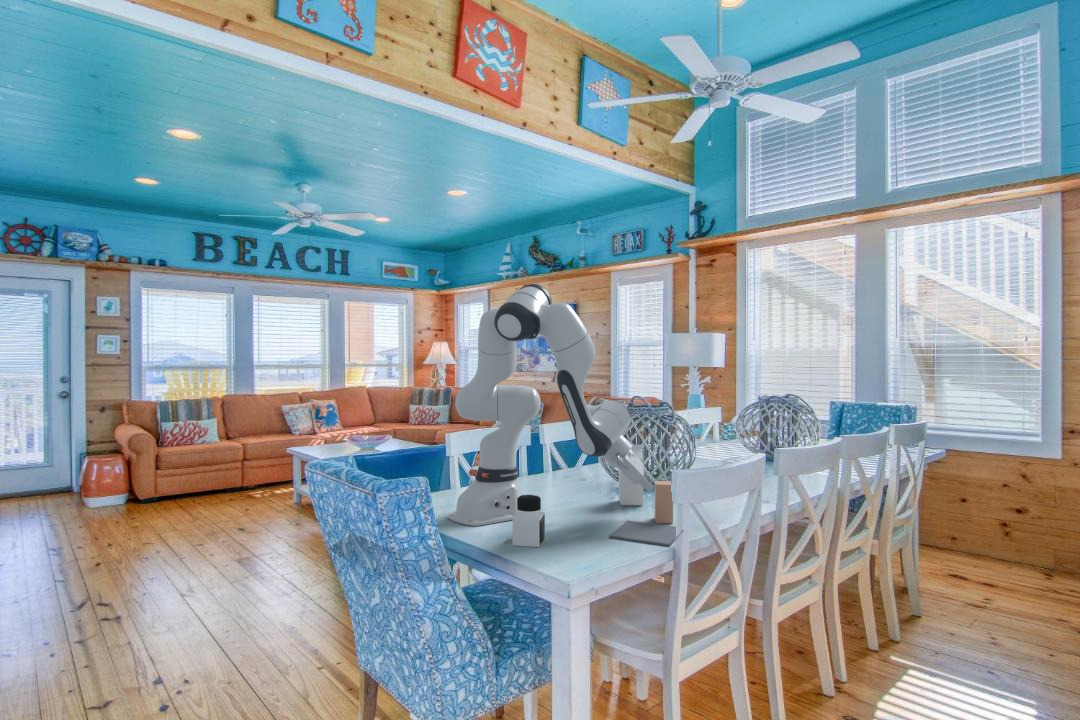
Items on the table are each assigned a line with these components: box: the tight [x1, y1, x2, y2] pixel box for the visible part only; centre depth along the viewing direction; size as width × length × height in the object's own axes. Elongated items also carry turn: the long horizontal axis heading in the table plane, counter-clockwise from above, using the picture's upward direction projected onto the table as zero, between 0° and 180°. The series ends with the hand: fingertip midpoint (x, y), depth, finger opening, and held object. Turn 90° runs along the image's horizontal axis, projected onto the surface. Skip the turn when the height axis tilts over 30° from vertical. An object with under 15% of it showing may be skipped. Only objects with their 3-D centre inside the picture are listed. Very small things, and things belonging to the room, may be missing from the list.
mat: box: [608, 520, 677, 547], centre depth 159 cm, size 16×16×1 cm
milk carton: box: [618, 444, 645, 506], centre depth 193 cm, size 7×7×19 cm
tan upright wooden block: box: [654, 480, 674, 524], centre depth 172 cm, size 5×5×11 cm
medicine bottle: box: [512, 493, 546, 548], centre depth 151 cm, size 7×7×12 cm
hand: (651, 486), depth 172 cm, fingers open, 8 cm apart
